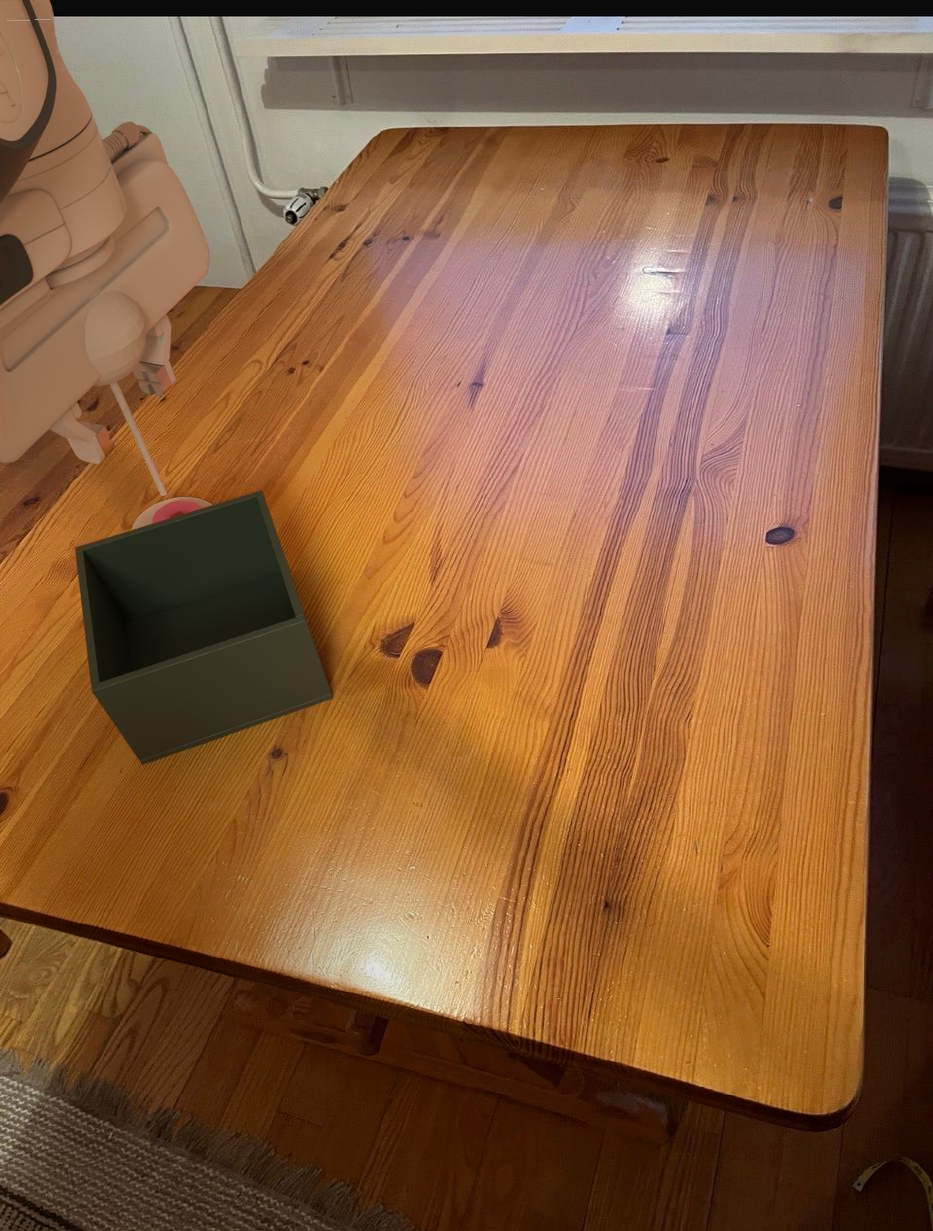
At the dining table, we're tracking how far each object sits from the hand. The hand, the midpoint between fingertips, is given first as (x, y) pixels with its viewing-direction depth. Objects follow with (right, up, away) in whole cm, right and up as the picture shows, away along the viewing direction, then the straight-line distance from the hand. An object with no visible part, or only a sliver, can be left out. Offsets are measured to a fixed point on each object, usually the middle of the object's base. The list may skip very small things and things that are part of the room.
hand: (129, 421), depth 56 cm
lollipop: (+1, -4, +5) cm, 6 cm away
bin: (0, -15, +20) cm, 26 cm away
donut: (-8, -5, +31) cm, 32 cm away
